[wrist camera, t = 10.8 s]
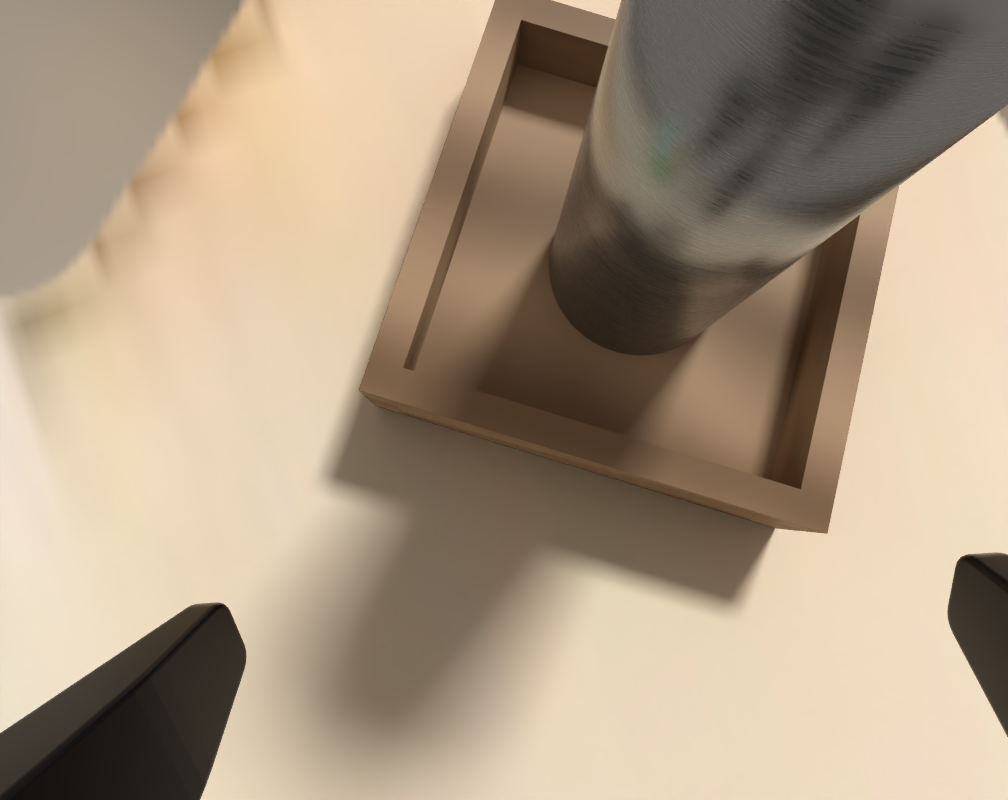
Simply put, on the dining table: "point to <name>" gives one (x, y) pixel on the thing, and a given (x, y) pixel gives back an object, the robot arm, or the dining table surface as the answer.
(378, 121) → the dining table surface
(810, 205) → the tin
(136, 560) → the dining table surface
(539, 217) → the tray
